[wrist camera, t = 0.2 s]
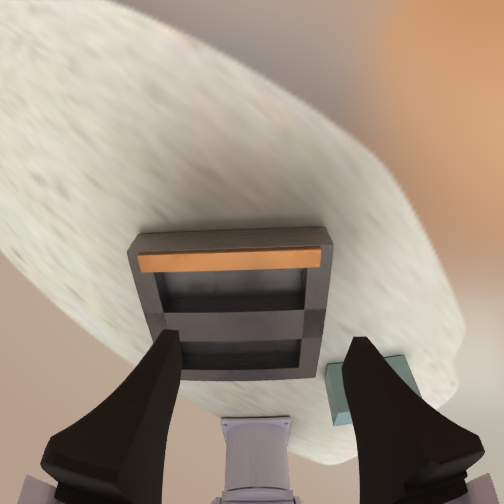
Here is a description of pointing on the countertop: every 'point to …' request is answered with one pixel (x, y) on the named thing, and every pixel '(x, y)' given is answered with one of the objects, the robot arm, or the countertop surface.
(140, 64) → the countertop surface
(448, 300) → the countertop surface
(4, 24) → the countertop surface
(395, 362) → the panel
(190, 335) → the panel rack
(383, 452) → the robot arm
